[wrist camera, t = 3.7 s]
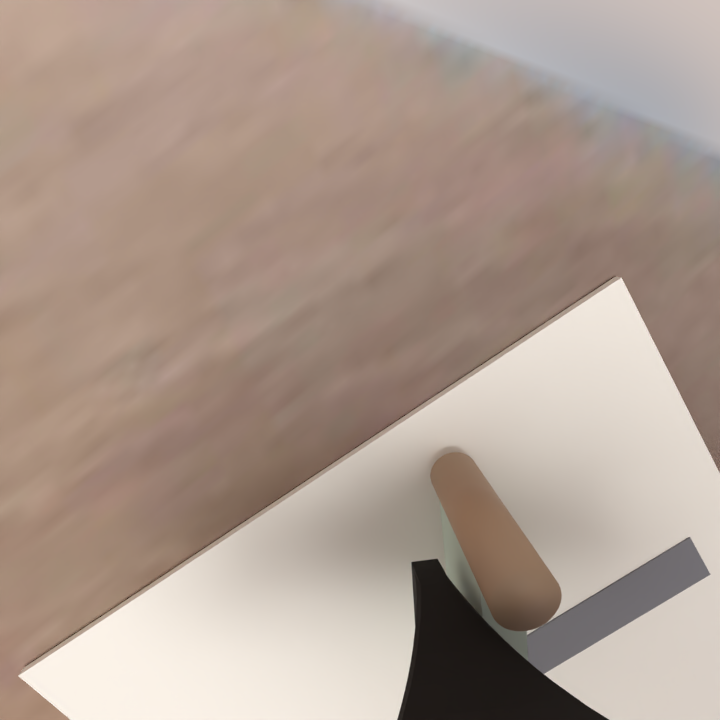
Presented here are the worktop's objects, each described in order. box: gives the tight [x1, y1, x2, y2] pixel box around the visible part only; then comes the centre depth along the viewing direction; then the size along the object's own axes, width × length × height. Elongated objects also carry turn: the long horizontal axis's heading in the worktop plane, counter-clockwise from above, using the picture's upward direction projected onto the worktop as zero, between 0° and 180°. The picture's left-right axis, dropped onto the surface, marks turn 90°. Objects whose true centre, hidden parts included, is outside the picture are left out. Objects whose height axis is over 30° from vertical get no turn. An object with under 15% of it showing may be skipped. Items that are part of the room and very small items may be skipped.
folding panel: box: [430, 452, 562, 661], centre depth 12 cm, size 8×1×5 cm, turn 7°
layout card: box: [19, 277, 720, 720], centre depth 17 cm, size 20×22×1 cm
